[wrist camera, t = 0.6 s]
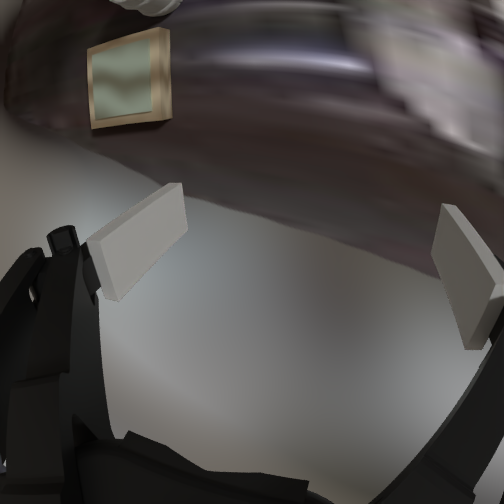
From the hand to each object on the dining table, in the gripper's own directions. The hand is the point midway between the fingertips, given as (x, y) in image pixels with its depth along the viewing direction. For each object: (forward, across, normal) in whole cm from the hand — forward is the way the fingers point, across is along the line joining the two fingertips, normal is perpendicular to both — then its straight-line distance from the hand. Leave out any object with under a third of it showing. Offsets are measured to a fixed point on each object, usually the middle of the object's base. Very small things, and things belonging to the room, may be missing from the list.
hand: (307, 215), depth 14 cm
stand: (+27, -29, +10) cm, 41 cm away
